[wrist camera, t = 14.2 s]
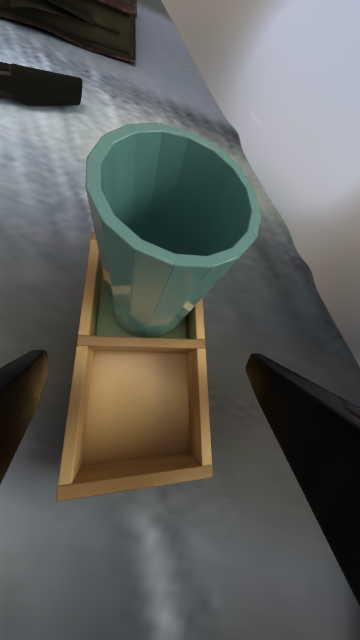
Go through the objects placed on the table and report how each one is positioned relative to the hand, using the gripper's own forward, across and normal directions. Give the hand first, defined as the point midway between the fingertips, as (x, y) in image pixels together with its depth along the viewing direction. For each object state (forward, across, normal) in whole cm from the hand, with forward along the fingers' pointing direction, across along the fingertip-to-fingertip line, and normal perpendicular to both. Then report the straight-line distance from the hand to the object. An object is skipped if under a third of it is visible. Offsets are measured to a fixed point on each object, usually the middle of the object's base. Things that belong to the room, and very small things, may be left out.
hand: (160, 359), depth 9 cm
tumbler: (+12, 0, +2) cm, 12 cm away
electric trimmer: (+31, +16, -15) cm, 38 cm away
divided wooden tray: (+9, 0, +6) cm, 11 cm away
